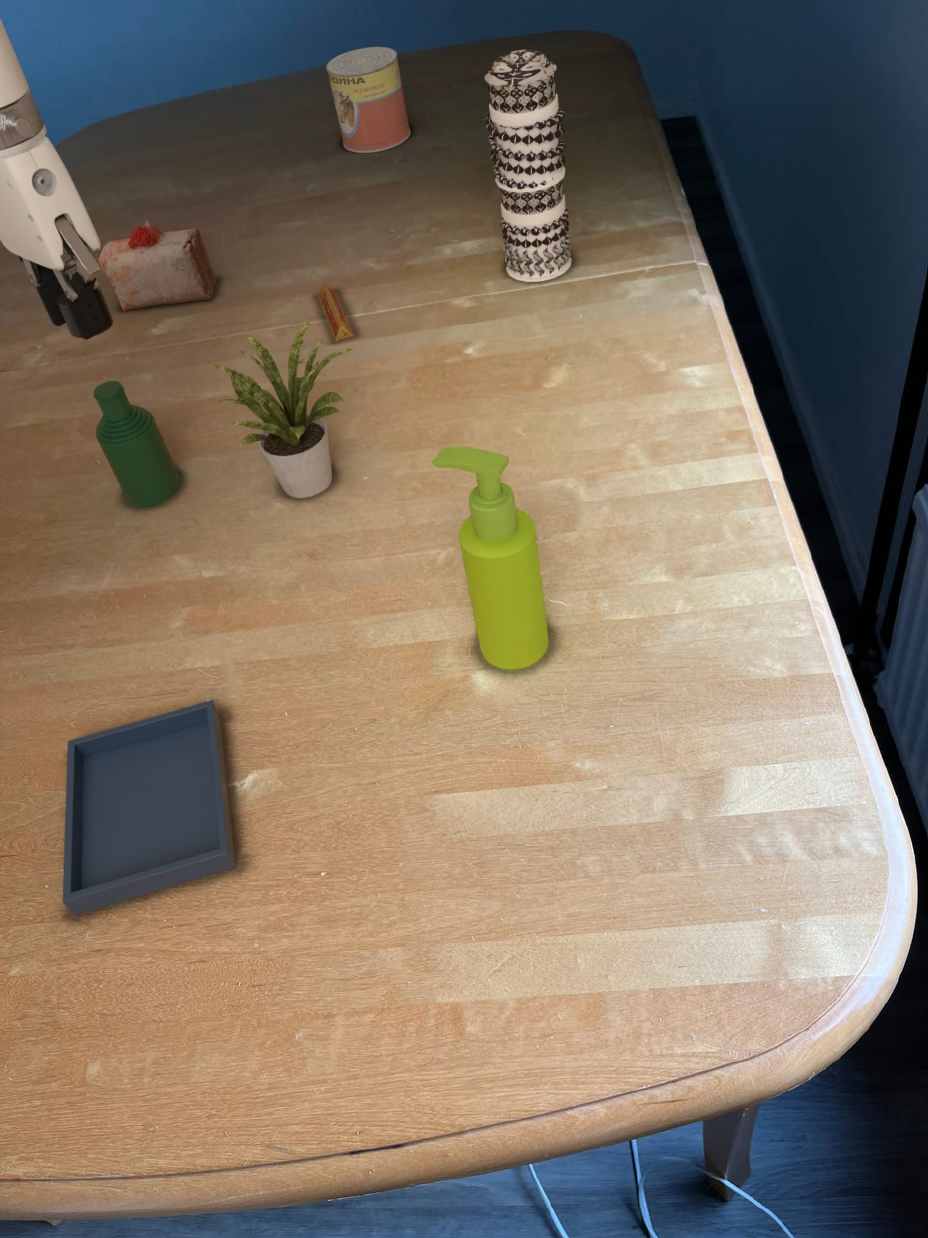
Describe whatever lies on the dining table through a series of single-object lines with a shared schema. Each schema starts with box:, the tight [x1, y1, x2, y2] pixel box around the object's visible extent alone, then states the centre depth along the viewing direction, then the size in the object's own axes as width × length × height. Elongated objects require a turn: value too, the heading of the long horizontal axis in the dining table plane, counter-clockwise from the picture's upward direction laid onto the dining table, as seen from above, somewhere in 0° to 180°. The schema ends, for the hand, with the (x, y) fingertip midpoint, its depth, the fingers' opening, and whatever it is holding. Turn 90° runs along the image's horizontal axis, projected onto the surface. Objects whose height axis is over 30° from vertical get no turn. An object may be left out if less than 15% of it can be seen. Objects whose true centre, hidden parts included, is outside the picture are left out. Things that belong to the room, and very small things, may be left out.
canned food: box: [325, 46, 412, 154], centre depth 164 cm, size 11×11×12 cm
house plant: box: [210, 318, 356, 499], centre depth 101 cm, size 14×14×16 cm
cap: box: [57, 286, 114, 339], centre depth 95 cm, size 4×4×3 cm
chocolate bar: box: [317, 281, 354, 342], centre depth 129 cm, size 3×12×2 cm, turn 16°
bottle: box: [92, 380, 182, 508], centre depth 105 cm, size 6×6×13 cm
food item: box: [98, 219, 217, 312], centre depth 137 cm, size 14×8×10 cm, turn 89°
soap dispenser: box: [432, 446, 550, 670], centre depth 80 cm, size 6×7×20 cm
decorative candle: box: [484, 49, 572, 283], centre depth 122 cm, size 9×9×25 cm
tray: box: [62, 699, 237, 916], centre depth 80 cm, size 15×12×2 cm
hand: (82, 323), depth 96 cm, fingers closed on cap, 4 cm apart
